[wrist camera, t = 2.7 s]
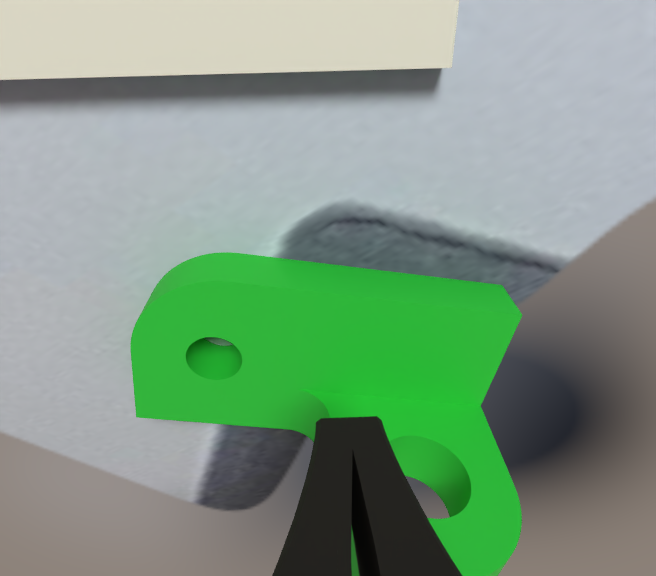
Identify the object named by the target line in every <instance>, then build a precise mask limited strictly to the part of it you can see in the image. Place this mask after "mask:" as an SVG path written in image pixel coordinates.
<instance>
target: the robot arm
mask: <svg viewBox="0 0 656 576" xmlns="http://www.w3.org/2000/svg"><path fill="white" fill-rule="evenodd" d="M351 530H352V531H353V538H354V544H355V551H356V557H357V564H358V570H359V576H462V574H461V573H460V571H459V570H458V568H457V566H456V565H455V563H454V562H453V560H452V559H451V557H450V555H449V554H448V552H447V550H446V549H445V547H444V546H443V544H442V542H441V541H440V539H439V537H438V536H437V534H436V532H435V531H434V529H433V527H432V525H431V524H430V522H429V520H428V519H427V517H426V515H425V513H424V511H423V509H422V508H421V506H420V504H419V502H418V500H417V499H416V496H415V495H414V493H413V491H412V489H411V487H410V485H409V483H408V481H407V479H406V477H405V475H404V473H403V471H402V469H401V467H400V465H399V463H398V460H397V458H396V456H395V454H394V452H393V449H392V447H391V445H390V442H389V440H388V437H387V434H386V432H385V429H384V426H383V423H382V420H381V419H380V418H378V417H377V416H370V417H343V418H321V419H319V420H318V421H317V422H316V429H315V438H314V445H313V450H312V455H311V460H310V464H309V468H308V472H307V476H306V480H305V483H304V487H303V490H302V493H301V497H300V500H299V504H298V507H297V510H296V513H295V516H294V520H293V522H292V525H291V528H290V531H289V533H288V536H287V539H286V541H285V544H284V547H283V550H282V552H281V555H280V558H279V560H278V563H277V566H276V568H275V570H274V573H273V576H352V568H351Z"/></svg>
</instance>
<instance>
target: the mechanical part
mask: <svg viewBox="0 0 656 576" xmlns="http://www.w3.org/2000/svg"><path fill="white" fill-rule="evenodd" d="M521 317H522V314H521V313H520V311H519V309H518V308H517V306H516V305H515V304H514V302H513V301H512V299H511V298H510V296H509V295H508V293H507V292H506V290H505V289H504V287H503V286H502V285H496V284H488V283H480V282H471V281H463V280H455V279H447V278H438V277H430V276H422V275H414V274H405V273H397V272H389V271H381V270H372V269H364V268H356V267H348V266H339V265H331V264H323V263H315V262H306V261H298V260H290V259H282V258H273V257H265V256H257V255H249V254H240V253H213V254H206V255H202V256H198V257H195V258H192V259H189V260H187V261H185V262H183V263H181V264H179V265H177V266H176V267H174V268H173V269H172V270H170V271H169V272H168V273H167V274H166V275H165V276H164V277H163V278H162V279H161V280H160V281H159V283H158V284H157V286H156V287H155V289H154V290H153V292H152V294H151V296H150V298H149V300H148V302H147V303H146V305H145V307H144V309H143V311H142V313H141V315H140V317H139V318H138V320H137V322H136V325H135V327H134V330H133V333H132V337H131V359H132V371H133V383H134V395H135V406H136V417H140V418H152V419H165V420H177V421H190V422H202V423H215V424H227V425H240V426H253V427H265V428H278V429H289V430H294V431H298V432H300V433H302V434H304V435H306V436H307V437H309V438H310V439H311V440H312V441H313V442H314V438H315V429H316V422H317V421H318V420H319V419H321V418H343V417H370V416H377V417H378V418H380V419H381V420H382V423H383V426H384V429H385V432H386V434H387V437H388V440H389V442H390V445H391V447H392V449H393V452H394V454H395V456H396V458H397V460H398V463H399V465H400V467H401V469H402V471H403V473H404V475H405V476H409V477H412V478H415V479H417V480H419V481H421V482H423V483H425V484H426V485H428V486H429V487H430V488H431V489H433V490H434V491H435V492H436V493H437V494H438V495H439V497H440V498H441V499H442V500H443V502H444V504H445V506H446V508H447V510H448V513H449V516H450V517H449V518H444V519H431V518H427V519H428V520H429V522H430V524H431V525H432V527H433V529H434V531H435V532H436V534H437V536H438V537H439V539H440V541H441V542H442V544H443V546H444V547H445V549H446V550H447V552H448V554H449V555H450V557H451V559H452V560H453V562H454V563H455V565H456V566H457V568H458V570H459V571H460V573H461V574H462V576H498V574H499V573H500V571H501V570H502V568H503V567H504V565H505V564H506V562H507V561H508V559H509V558H510V556H511V555H512V553H513V551H514V550H515V548H516V546H517V542H518V540H519V536H520V532H521V524H522V519H521V518H522V516H521V507H520V502H519V498H518V494H517V492H516V489H515V486H514V484H513V481H512V479H511V477H510V474H509V472H508V470H507V467H506V465H505V463H504V460H503V458H502V456H501V453H500V451H499V448H498V446H497V444H496V442H495V439H494V437H493V434H492V432H491V430H490V428H489V425H488V423H487V420H486V418H485V415H484V413H483V411H482V408H481V404H482V402H483V399H484V397H485V395H486V393H487V391H488V388H489V386H490V384H491V382H492V380H493V378H494V375H495V373H496V371H497V369H498V367H499V364H500V362H501V360H502V358H503V356H504V353H505V352H506V349H507V347H508V345H509V343H510V341H511V339H512V336H513V334H514V332H515V330H516V328H517V325H518V323H519V321H520V319H521ZM206 337H217V338H221V339H224V340H227V341H229V342H231V343H232V344H233V345H230V346H220V345H216V344H213V343H211V342H209V341H207V340H206V339H205V338H206ZM351 568H352V576H359V570H358V564H357V557H356V551H355V544H354V538H353V531H352V530H351Z"/></svg>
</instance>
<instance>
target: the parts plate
mask: <svg viewBox="0 0 656 576" xmlns="http://www.w3.org/2000/svg"><path fill="white" fill-rule="evenodd" d="M458 5H459V0H0V80H14V79H52V78H89V77H127V76H164V75H202V74H239V73H277V72H314V71H352V70H389V69H426V68H452V59H453V50H454V41H455V32H456V23H457V14H458Z"/></svg>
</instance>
